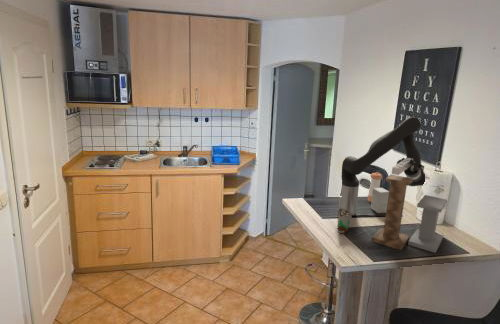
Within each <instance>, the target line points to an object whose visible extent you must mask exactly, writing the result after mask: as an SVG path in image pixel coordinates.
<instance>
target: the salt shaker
mask: <svg viewBox="0 0 500 324" xmlns="http://www.w3.org/2000/svg"><path fill="white" fill-rule="evenodd" d="M370 178H371V180H370V181H371V182H370V186H369V189H368V194H367V201H368V202H370V203H371V201H372V193H373V188H381V180H382V179H383V175H382V174H381V173H379V172H378V171H376V172H372V173H371V174H370Z"/></svg>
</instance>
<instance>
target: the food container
mask: <svg viewBox="0 0 500 324" xmlns="http://www.w3.org/2000/svg"><path fill="white" fill-rule="evenodd" d="M338 208H339V207H338ZM352 216H353V215H351V212H350V211H348V210H346V209H343V208H339V212H338V217H337V234H338V233H340V234H339V235H345V234H347V233H348V232H349V226H350V222H351V219H352V218H353V217H352Z"/></svg>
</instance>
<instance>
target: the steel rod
mask: <svg viewBox="0 0 500 324" xmlns="http://www.w3.org/2000/svg"><path fill="white" fill-rule="evenodd" d="M410 159H411V158H407V157H406V158H405V159H404V160H403V161H401V162H400V163H398V164H397V163H396V164H397V165H393V166H392V169H391V175H397V176H400V174H403V173H404V171H405V170H406V169H407V168H408V167H410V166H411V165H410ZM412 160H413V159H412Z"/></svg>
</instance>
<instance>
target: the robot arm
mask: <svg viewBox="0 0 500 324" xmlns="http://www.w3.org/2000/svg"><path fill="white" fill-rule="evenodd" d="M421 124H422V123H421V120H420V119H419V118H418V117H415V116H410V117H407V118H406V119H404V120H403V121H401V122H400V124H399V125H398V126H396V128H394V129H392V130H390V131H388V132H386V133H385V134H384V135H381V136H380V137H378V138H377V139H376V140H374V141H373V142H372V143H371V145H370V146H369V149H368V150H367V152H366V153H364V154H363V155H362V156H360V157H358V158H357V157H355V156H352V155H351V156H346V157H345V158H344V160H343V161H342V164H341V181H342V182H341V194H340V195H339V201H338V210H337V212H338V213H339V208H343V209H346V210H348V211H350V212H351V216H354V215H356V213H357V205H358V196H359V190H360V189H359V188H360V180H359V179H358V177H357V176H358V175H361V174H362V173H363V172H364V171H366V169H367V168H369V167H370V166H371V165H372V164H373V163H375V162H376V161H377V160H378V159H380V158H381V157H382V156H384V155H386V154H387V153H388V152H390V151H391V150H392V149H394V148H395V147H396V146H398V145H399V143H401V141H403V146H404V149H405V154H406V155H405V156H406V158H411V159H410V165H411V166H410V167H408V168H407V169H406V170H405V171H403V173H404V175H405V177H407V178H412V179H413V181H412V183H410V184H409V185H408V186H409V187H420V186H424V185H423V184H424V182H425V175H426V174H425V171H424V170H425V166H424V165H423V164H422V160H421V159H422V158H421V155H420V151H419V149H418V147H417V145H416V144H415V140H414V134H415V133H416V132H418V131H419V129H420V128H421ZM406 158H405V157H402V158H400V159H398V160H397V161H396V165H397V164H398V163H400V162H401V161H403V160H404V159H406ZM412 159H413V160H412Z"/></svg>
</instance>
